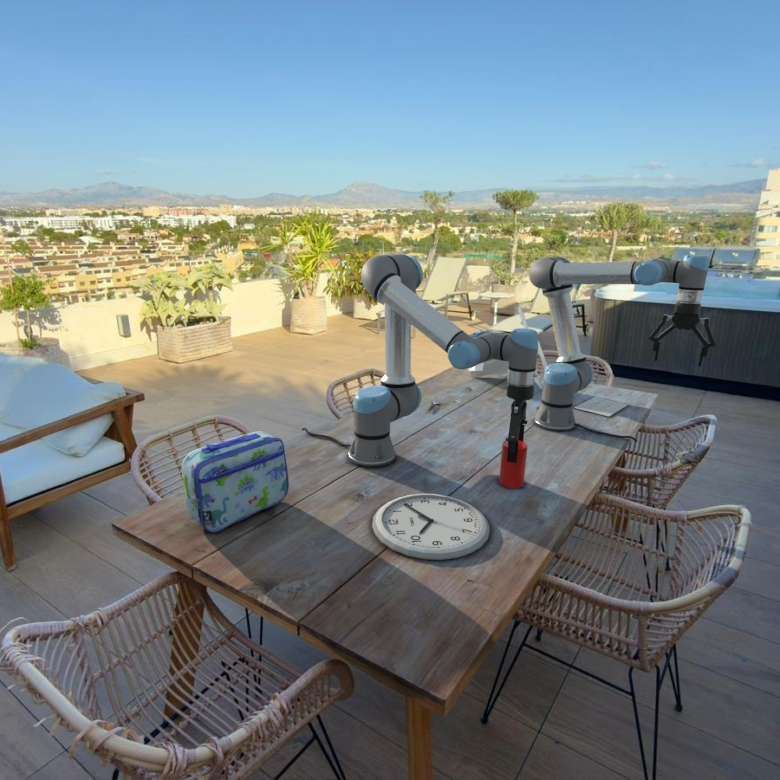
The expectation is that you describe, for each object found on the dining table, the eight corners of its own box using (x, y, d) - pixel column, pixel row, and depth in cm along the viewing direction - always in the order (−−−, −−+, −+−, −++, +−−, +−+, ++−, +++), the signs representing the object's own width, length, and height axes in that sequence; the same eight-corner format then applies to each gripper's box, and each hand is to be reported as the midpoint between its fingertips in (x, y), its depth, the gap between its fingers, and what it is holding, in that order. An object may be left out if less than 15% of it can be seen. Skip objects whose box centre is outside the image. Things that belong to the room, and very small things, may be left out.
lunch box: (202, 541, 125) (194, 461, 119) (183, 523, 133) (174, 447, 126) (293, 503, 143) (290, 432, 137) (271, 490, 150) (268, 421, 144)
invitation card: (608, 416, 214) (573, 407, 224) (608, 416, 214) (573, 408, 224) (628, 404, 229) (594, 396, 238) (628, 405, 229) (594, 397, 238)
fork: (425, 411, 216) (425, 407, 215) (435, 400, 230) (435, 396, 230) (431, 412, 215) (431, 408, 214) (441, 401, 229) (441, 396, 229)
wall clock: (505, 551, 121) (375, 556, 118) (504, 557, 121) (375, 562, 119) (474, 489, 149) (369, 491, 147) (474, 494, 150) (369, 497, 147)
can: (522, 490, 153) (526, 450, 149) (497, 485, 155) (500, 446, 152) (525, 479, 159) (529, 441, 156) (501, 475, 162) (504, 438, 158)
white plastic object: (487, 418, 267) (468, 395, 242) (469, 346, 289) (449, 318, 264) (558, 394, 255) (545, 368, 230) (533, 321, 277) (518, 289, 252)
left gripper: (529, 397, 136) (522, 472, 142) (538, 374, 158) (532, 439, 164) (500, 394, 138) (495, 467, 144) (513, 372, 161) (508, 436, 167)
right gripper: (647, 300, 180) (637, 360, 186) (732, 306, 168) (719, 370, 175) (649, 298, 186) (639, 356, 192) (731, 303, 175) (718, 365, 181)
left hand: (515, 453), depth 154 cm, fingers open, 13 cm apart
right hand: (677, 362), depth 184 cm, fingers open, 13 cm apart
